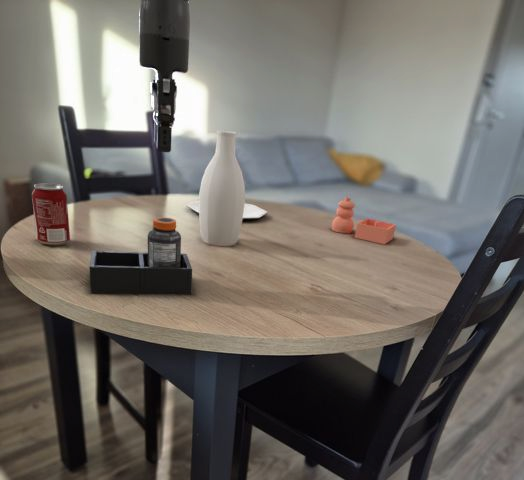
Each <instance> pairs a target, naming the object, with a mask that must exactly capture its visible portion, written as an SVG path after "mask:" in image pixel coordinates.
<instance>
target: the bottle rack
mask: <svg viewBox="0 0 524 480" xmlns="http://www.w3.org/2000/svg"><path fill="white" fill-rule="evenodd" d="M88 268H89V282H90V294H134V295H135V294H137V295H138V294H141V295H143V294H144V295H145V294H149V295H150V294H152V295H153V294H155V295H192V286H193V284H192V283H193V267H192V265H191V262H190V259H189V257H188V254H187V253H181V262H180V268H175V267H148V251H147V252H146V251H145V252H143V251H142V252H141V251H139V252H138V251H115V250H114V251H112V250H111V251H110V250H92V251H91V256H90V262H89V267H88Z"/></svg>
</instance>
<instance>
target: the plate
mask: <svg viewBox="0 0 524 480" xmlns="http://www.w3.org/2000/svg"><path fill="white" fill-rule="evenodd" d="M186 207H187V208H188V209H190V210H192V211H194V212H195V213H196V214H198V215H199V199H197V200H195V201H192V202H189V203H187V204H186ZM267 214H268V211H267V210H265V209H263V208H261V207H260V206H257V205H255V204H251V203H246V202H245V204H244V211H243V219H242V220H259V219H261V218H263V217H264V216H265V215H267Z"/></svg>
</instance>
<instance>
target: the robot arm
mask: <svg viewBox="0 0 524 480" xmlns="http://www.w3.org/2000/svg"><path fill="white" fill-rule="evenodd" d="M138 14H139V18H138V23H139V25H138V27H139V28H138V33H139V34H138V35H139V37H138V38H139V39H138V44H139V45H138V47H139V48H138V50H139V51H138V54H139V55H138V56H139V57H138V58H139V59H138V64H139V66H140V67H141V68H145V69H149V70H154V72H155V76H153V79H152V80H153V81H152V82H150V86H149V87H150V96H151V102H150V103H151V104H150V105H151V110H152V114H153V115H152V118H153V121H154V139H153V140H154V144H155V145H156V150H157V152H161V153H170V152H171V151H172V132H173V131H172V129H173V125H174V122H175V121H176V118H175V114H176V109H177V105H176V104H177V103H176V102H177V101H176V99H177V94H178V88H177V87H178V86H177V83H176V79H174V78H173V74H174V73H176V74H177V73H178V74H179V73H180V74H187V73H188V71H189V56H190V32H191V31H190V30H191V16H190V0H140V3H139V13H138Z"/></svg>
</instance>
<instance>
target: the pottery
mask: <svg viewBox="0 0 524 480" xmlns="http://www.w3.org/2000/svg"><path fill="white" fill-rule="evenodd" d="M337 204H338V208H337V209H336V215H337V216H336V217H335V218H333V220H332V222H331V230H332V231H333V232H336V233H340V234H351V233H352V232H353V230H354V227H355V224H354V220H353V217H354V214H355V211H354V208H355V207H356V205H355V203H354V202H353V201H351V197H349V196H345V197H344V199H343V200H340V201H339V202H338V203H337ZM356 223H357V224H356V228H355V233H354V239H360V240H364V241H367V242H368V241H369V242H373V243H376V244H382V245H386V244H387V243H388V242H390V241H392V240H393V239H394V236H395V231H396V227H397V224H396V223H392V222H388V221H387V222H386V221H381V220H378V219H377V220H376V219H372V218H364V219H363V220H361V221H359V222H356Z"/></svg>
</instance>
